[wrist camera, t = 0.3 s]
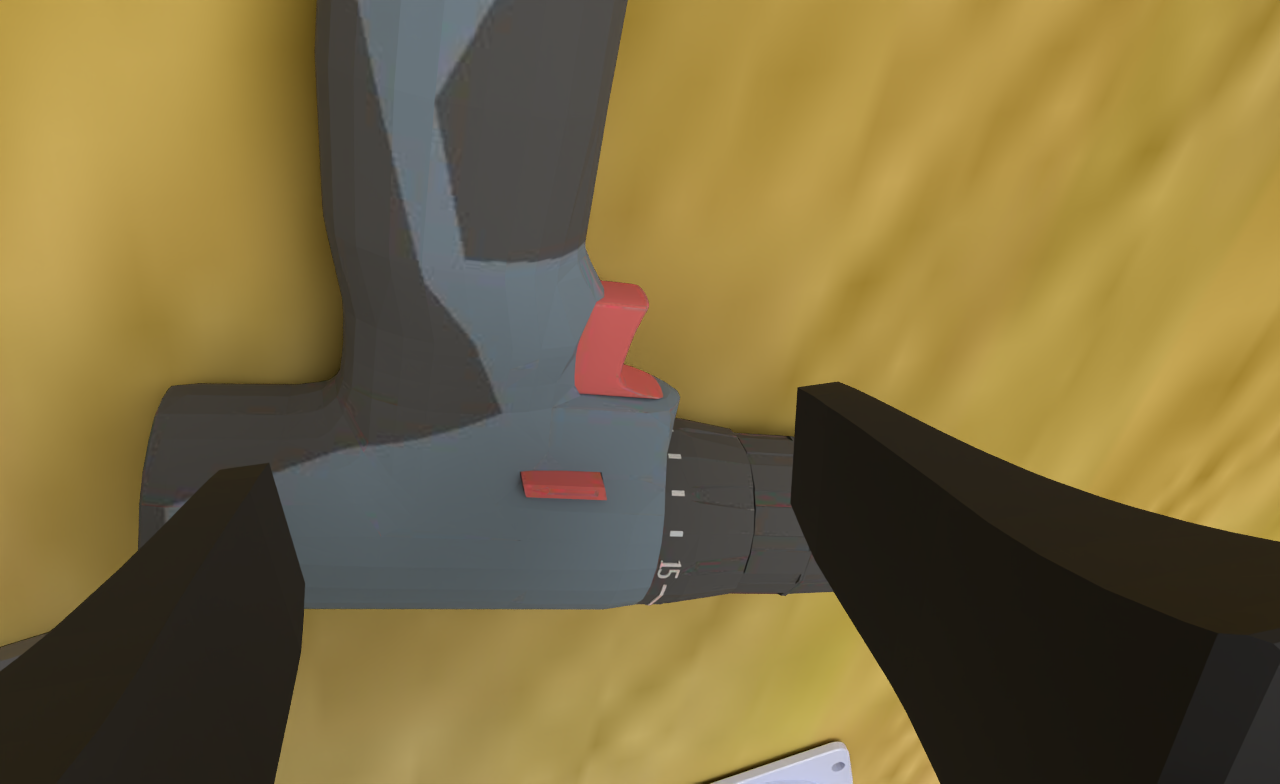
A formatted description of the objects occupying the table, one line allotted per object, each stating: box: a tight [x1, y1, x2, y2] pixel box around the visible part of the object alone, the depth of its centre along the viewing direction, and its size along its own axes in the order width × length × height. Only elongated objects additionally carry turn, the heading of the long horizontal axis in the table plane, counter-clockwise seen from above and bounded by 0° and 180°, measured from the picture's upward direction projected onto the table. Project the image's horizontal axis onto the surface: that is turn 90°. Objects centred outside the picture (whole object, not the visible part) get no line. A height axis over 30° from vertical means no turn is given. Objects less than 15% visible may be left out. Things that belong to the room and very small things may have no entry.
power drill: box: [138, 0, 834, 609], centre depth 19 cm, size 5×19×20 cm
